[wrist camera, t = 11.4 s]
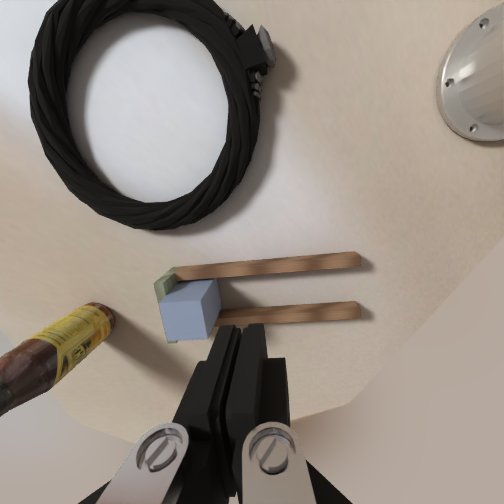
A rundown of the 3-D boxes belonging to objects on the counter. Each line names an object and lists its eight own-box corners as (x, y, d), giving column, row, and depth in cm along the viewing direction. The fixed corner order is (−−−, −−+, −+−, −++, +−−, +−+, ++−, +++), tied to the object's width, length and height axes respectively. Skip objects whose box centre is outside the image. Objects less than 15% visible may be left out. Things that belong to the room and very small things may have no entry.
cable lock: (-31, 41, 28) (211, -135, 22) (5, 57, 32) (220, -91, 26) (99, 264, 34) (317, 170, 28) (116, 255, 38) (312, 171, 32)
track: (354, 251, 34) (370, 266, 28) (355, 308, 36) (370, 333, 30) (172, 267, 37) (153, 283, 31) (183, 319, 39) (167, 343, 33)
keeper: (216, 275, 36) (200, 300, 29) (221, 306, 38) (207, 339, 30) (183, 277, 37) (158, 303, 29) (189, 308, 38) (167, 341, 31)
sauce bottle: (103, 342, 42) (-44, 479, 22) (72, 317, 41) (-107, 437, 22) (126, 317, 40) (-13, 443, 21) (94, 291, 39) (-80, 396, 20)
